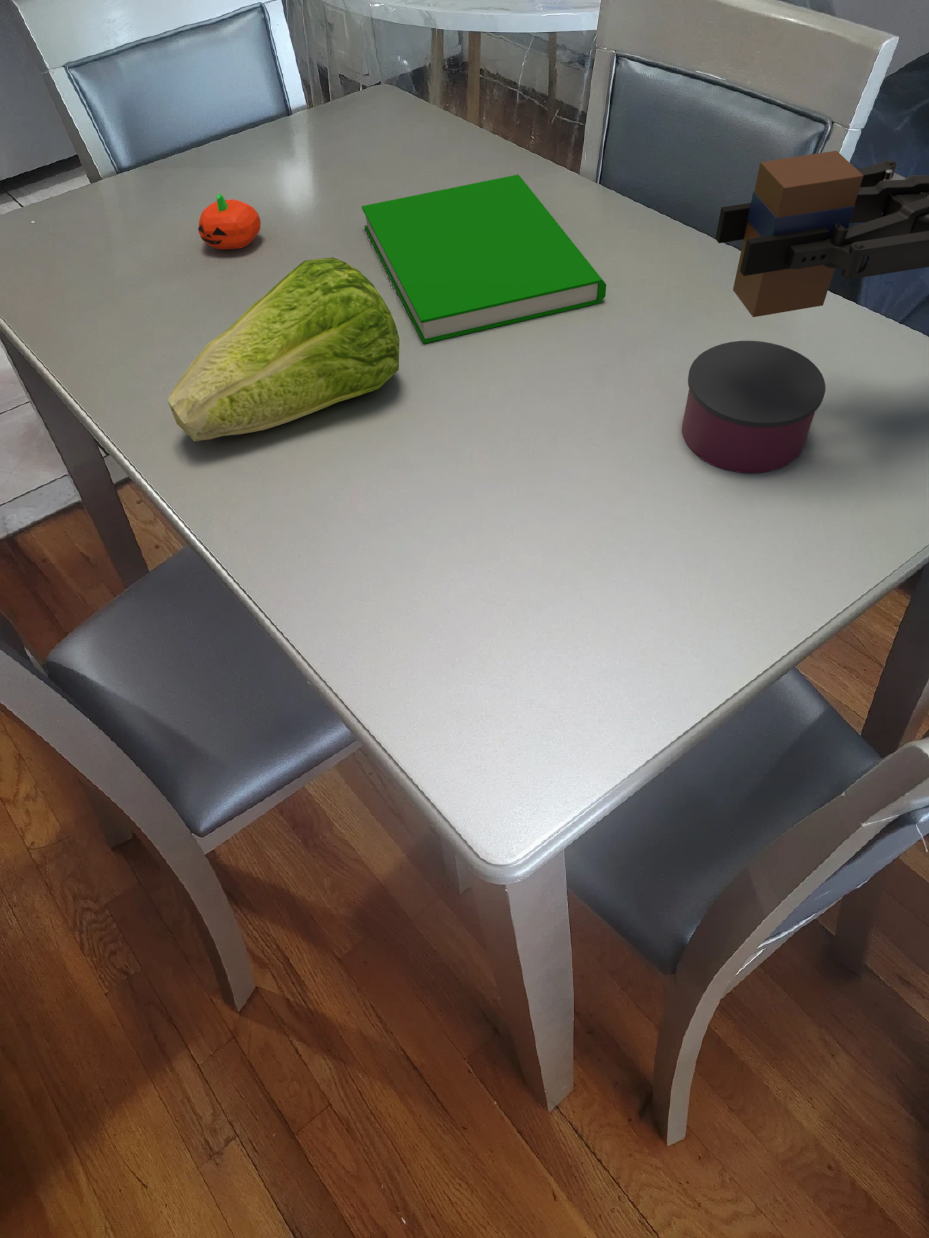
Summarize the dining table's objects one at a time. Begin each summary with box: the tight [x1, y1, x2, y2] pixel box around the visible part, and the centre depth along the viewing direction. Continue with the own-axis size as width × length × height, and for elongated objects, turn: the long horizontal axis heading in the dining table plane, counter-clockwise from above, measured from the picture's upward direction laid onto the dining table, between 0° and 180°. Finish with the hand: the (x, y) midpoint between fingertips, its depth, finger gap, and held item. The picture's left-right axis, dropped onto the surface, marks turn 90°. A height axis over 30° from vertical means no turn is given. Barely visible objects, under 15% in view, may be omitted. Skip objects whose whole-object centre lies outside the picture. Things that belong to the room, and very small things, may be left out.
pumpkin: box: [197, 193, 262, 250], centre depth 112 cm, size 7×8×6 cm
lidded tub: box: [681, 340, 826, 474], centre depth 85 cm, size 13×13×6 cm
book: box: [361, 174, 607, 344], centre depth 108 cm, size 22×28×3 cm
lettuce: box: [167, 256, 400, 442], centre depth 89 cm, size 14×24×14 cm
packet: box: [732, 150, 863, 318], centre depth 71 cm, size 6×4×11 cm
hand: (732, 241), depth 70 cm, fingers closed on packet, 4 cm apart
